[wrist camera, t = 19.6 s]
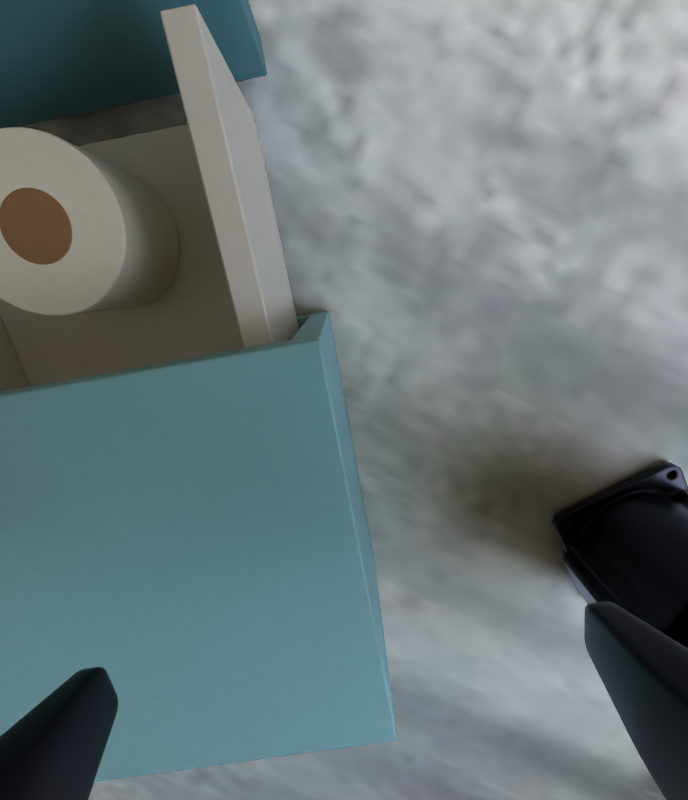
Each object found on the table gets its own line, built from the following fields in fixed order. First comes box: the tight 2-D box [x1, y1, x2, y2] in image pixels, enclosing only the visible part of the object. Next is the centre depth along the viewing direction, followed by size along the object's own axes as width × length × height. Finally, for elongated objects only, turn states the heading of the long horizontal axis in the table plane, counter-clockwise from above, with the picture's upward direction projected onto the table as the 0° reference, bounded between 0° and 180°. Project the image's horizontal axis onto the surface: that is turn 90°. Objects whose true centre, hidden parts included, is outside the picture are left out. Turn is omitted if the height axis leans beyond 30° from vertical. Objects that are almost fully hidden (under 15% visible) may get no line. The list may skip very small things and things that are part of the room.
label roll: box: [0, 127, 180, 316], centre depth 13 cm, size 5×5×4 cm
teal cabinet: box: [0, 311, 397, 782], centre depth 16 cm, size 14×15×9 cm
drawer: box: [0, 0, 299, 392], centre depth 12 cm, size 17×13×7 cm
